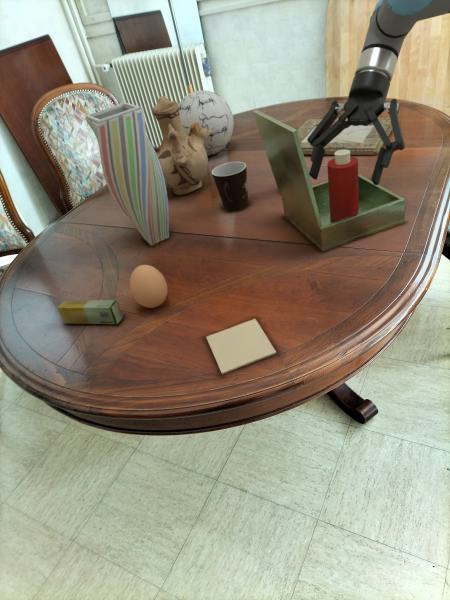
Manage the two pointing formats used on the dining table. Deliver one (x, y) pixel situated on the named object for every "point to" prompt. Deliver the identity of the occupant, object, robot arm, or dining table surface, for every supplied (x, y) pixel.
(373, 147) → the picture frame
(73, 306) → the medication box
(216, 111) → the decorative sphere
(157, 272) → the egg
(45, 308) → the dining table surface
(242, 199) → the coffee mug
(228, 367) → the mat
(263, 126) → the lid
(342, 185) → the ketchup
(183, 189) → the ceramic vessel
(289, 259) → the dining table surface
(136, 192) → the vase
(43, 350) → the dining table surface
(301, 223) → the green square tray
